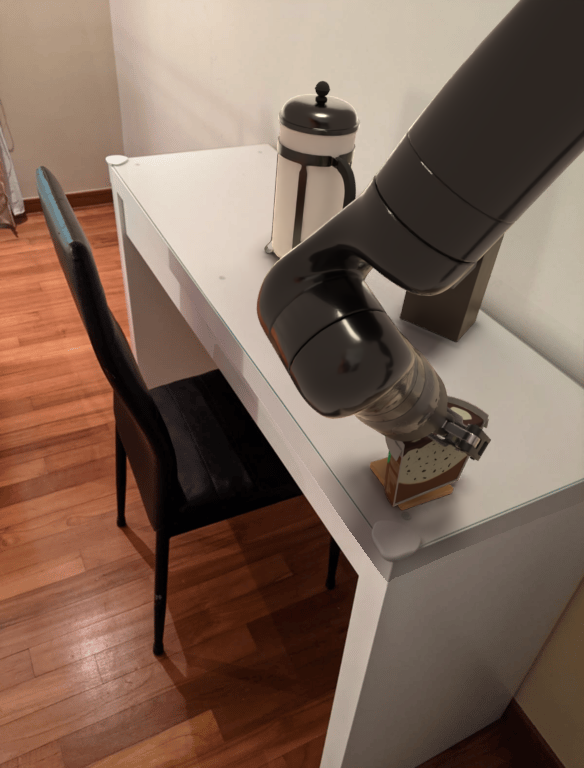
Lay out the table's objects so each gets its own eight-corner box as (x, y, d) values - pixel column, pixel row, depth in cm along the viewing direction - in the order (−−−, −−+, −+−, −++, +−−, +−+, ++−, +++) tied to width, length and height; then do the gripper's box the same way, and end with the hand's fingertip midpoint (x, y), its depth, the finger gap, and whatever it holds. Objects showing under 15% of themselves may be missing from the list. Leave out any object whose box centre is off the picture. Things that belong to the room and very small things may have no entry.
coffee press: (246, 269, 106) (254, 83, 87) (282, 234, 118) (296, 63, 99) (339, 296, 102) (369, 106, 83) (367, 257, 114) (399, 83, 95)
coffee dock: (475, 320, 100) (505, 230, 90) (433, 367, 89) (462, 270, 79) (420, 298, 104) (443, 209, 94) (374, 341, 93) (394, 245, 83)
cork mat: (418, 452, 75) (419, 447, 75) (452, 493, 70) (453, 488, 70) (369, 466, 72) (370, 462, 72) (401, 510, 68) (402, 506, 67)
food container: (434, 442, 76) (455, 380, 69) (467, 476, 71) (492, 413, 65) (351, 472, 70) (365, 408, 64) (381, 511, 66) (399, 446, 60)
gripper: (493, 392, 49) (508, 425, 63) (350, 319, 55) (393, 365, 70) (445, 472, 49) (471, 487, 63) (307, 390, 55) (360, 421, 70)
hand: (430, 423), depth 67 cm, fingers open, 8 cm apart
